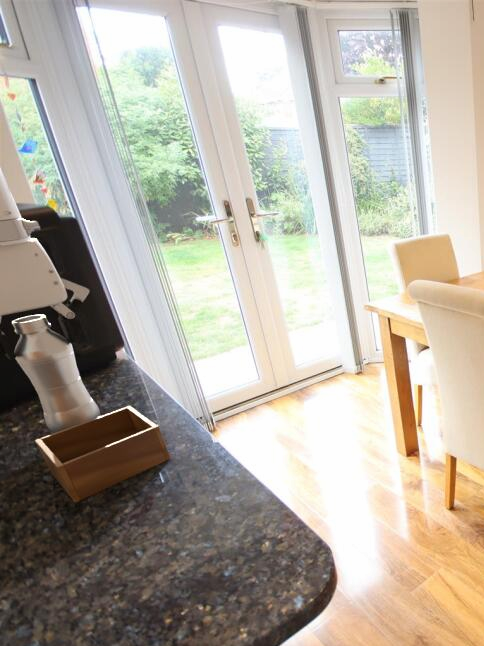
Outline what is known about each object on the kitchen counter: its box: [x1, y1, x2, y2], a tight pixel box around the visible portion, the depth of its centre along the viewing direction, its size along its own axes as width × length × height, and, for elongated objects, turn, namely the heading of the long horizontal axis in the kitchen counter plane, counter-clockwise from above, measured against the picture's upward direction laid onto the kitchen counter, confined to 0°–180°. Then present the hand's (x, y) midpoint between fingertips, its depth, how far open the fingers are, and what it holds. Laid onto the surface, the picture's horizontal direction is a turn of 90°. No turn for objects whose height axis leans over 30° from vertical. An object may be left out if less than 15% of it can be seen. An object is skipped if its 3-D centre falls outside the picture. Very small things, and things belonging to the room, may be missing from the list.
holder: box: [34, 405, 172, 504], centre depth 70 cm, size 12×12×6 cm
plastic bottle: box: [11, 314, 101, 434], centre depth 74 cm, size 6×7×20 cm
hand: (42, 348), depth 72 cm, fingers closed on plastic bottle, 6 cm apart
